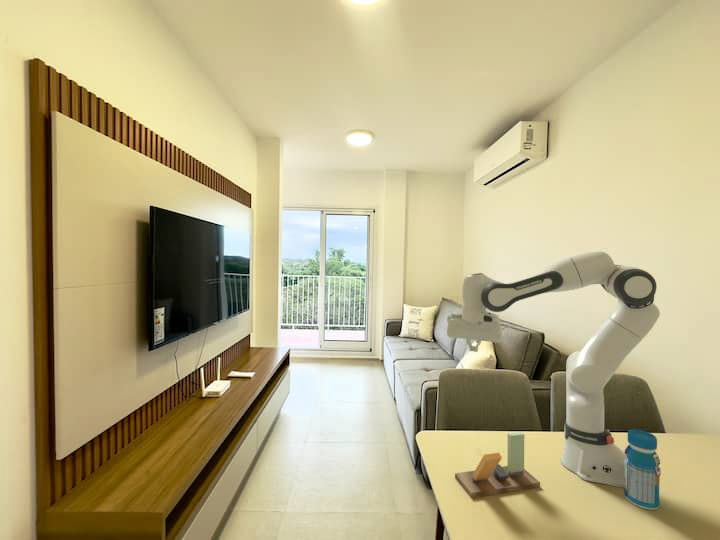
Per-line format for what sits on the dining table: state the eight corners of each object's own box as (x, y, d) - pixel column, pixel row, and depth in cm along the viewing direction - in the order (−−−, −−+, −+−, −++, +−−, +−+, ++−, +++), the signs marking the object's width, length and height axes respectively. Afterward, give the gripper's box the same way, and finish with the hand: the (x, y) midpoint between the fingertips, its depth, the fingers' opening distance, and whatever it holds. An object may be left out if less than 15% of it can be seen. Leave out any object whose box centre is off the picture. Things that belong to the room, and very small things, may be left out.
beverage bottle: (636, 510, 97) (636, 440, 97) (617, 490, 106) (617, 426, 105) (668, 512, 96) (669, 442, 96) (646, 492, 105) (646, 428, 105)
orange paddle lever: (485, 474, 110) (499, 452, 103) (487, 480, 109) (502, 457, 102) (470, 477, 109) (483, 454, 102) (473, 482, 108) (486, 460, 100)
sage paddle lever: (521, 471, 113) (521, 431, 112) (524, 474, 111) (524, 434, 111) (507, 473, 111) (507, 433, 111) (510, 476, 110) (510, 435, 110)
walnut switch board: (518, 468, 117) (518, 464, 117) (540, 487, 107) (540, 482, 107) (455, 477, 112) (455, 473, 112) (471, 497, 102) (471, 493, 102)
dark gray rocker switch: (498, 469, 113) (499, 464, 113) (508, 481, 108) (509, 475, 108) (490, 471, 112) (490, 465, 112) (499, 483, 107) (500, 476, 107)
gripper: (444, 314, 134) (444, 349, 134) (500, 318, 123) (499, 356, 123) (449, 312, 139) (449, 346, 139) (503, 316, 128) (503, 353, 128)
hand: (473, 351), depth 131 cm, fingers closed
